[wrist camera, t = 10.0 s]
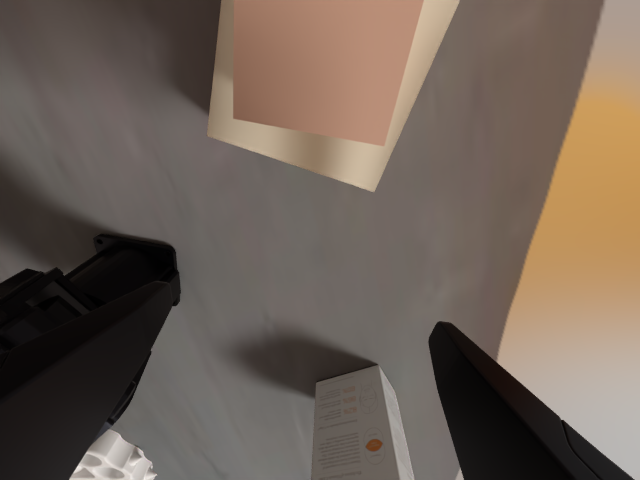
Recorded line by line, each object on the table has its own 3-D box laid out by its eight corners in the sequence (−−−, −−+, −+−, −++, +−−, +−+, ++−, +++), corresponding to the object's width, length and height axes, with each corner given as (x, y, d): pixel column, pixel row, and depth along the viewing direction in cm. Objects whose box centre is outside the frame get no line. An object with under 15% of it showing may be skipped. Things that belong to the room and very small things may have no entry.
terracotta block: (271, 110, 14) (233, 118, 8) (279, -17, 11) (234, -115, 6) (364, 127, 14) (384, 146, 9) (392, 6, 12) (442, -70, 6)
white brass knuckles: (40, 423, 39) (134, 423, 38) (97, 476, 48) (175, 478, 47) (16, 449, 36) (117, 451, 35) (82, 501, 45) (164, 503, 44)
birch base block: (231, 127, 18) (206, 135, 15) (260, -75, 13) (235, -135, 10) (366, 174, 19) (374, 192, 16) (437, 3, 15) (471, -26, 11)
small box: (335, 405, 33) (336, 525, 24) (314, 380, 31) (307, 502, 22) (396, 390, 31) (423, 515, 22) (379, 362, 29) (402, 488, 20)
